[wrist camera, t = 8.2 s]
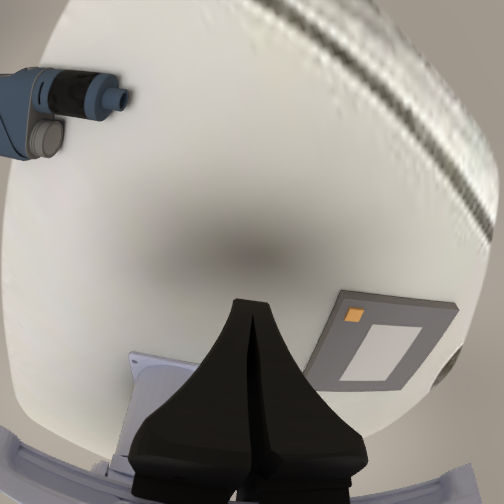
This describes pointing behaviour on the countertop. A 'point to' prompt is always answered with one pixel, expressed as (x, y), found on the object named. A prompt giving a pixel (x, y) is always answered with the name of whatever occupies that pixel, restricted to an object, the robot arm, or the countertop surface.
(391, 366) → the computer chip
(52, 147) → the vaping device
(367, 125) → the countertop surface
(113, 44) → the countertop surface
